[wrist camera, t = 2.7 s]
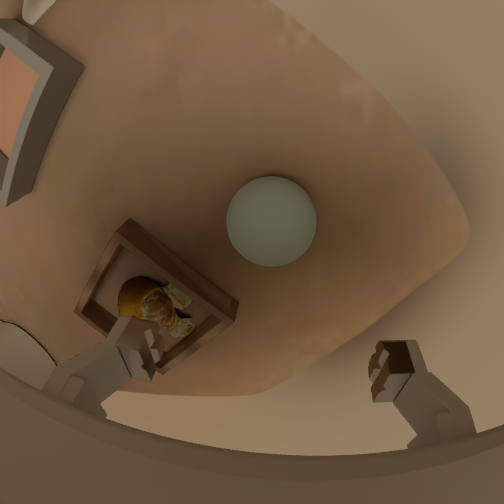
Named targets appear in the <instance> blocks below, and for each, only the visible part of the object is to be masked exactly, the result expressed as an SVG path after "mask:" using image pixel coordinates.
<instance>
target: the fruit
mask: <svg viewBox="0 0 504 504" xmlns="http://www.w3.org/2000/svg"><path fill="white" fill-rule="evenodd" d="M192 301H193V300H192V299H191V298H189V297H188V296H187V295H185V294H184V293H182V292H181V291H180V290H178V289H177V288H176V287H174V286H173V285H172V284H170V283H169V284H168V285H167V286H165V287H161V286H157V284H155V283H154V282H152V281H151V280H150V279H149V278H146V277H134V278H132V279H130V280H128V281H126V282H125V283H124V284H123V285H122V287H121V290H120V292H119V296H118V304H117V305H118V309H119V313H120V315H121V316H122V315H126V316H130V317H136V318H141V319H146V320H150V321H156V322H158V323H159V326H160V328H162V327H163V326H164V325H166V326H167V327H168V330H169V331H170V334H171V335H170V336H171V337H174V338H182V337H184V336H187V335H189V334H190V333H191V332H193V330H194V329H195V328H196V325H195V324H194V322H191V321H190V320H192V319H193V318H186V319H181V318H179V317H178V316H177V314H176V312H175V308H178V309H180V310H183V309H185V308H187V307H188V306H189V305H190V304H191V303H192ZM186 324H192V326H191V327H186Z"/></svg>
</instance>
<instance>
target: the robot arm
mask: <svg viewBox="0 0 504 504" xmlns="http://www.w3.org/2000/svg"><path fill="white" fill-rule="evenodd" d="M159 330H160V326H159V323H158V322H156V321H150V320H146V319H141V318H136V317H130V316H126V315H122V316H120V317H119V318H118V320H117V322H116V323H115V325H114V326H113V328H112V329H111V331H110V332H109V334H108V336H107V337H106V339H105V340H104V342H103V343H98V344H96V345H94V346H93V347H91V348H89V349H87V350H85V351H84V352H82V353H80V354H78V355H77V356H75V357H73V358H71V359H69V360H68V361H66V362H64V363H62V364H60V365H59V366H56V365H55V363H54V361H53V360H52V359H51V357H50V356H49V355H48V354H47V352H46V351H45V350H44V349H43V348H42V347H41V346H40V345H39V344H38V343H37V342H36V341H35V340H34V339H33V338H32V337H31V336H30V335H28V334H27V333H26V332H25V331H23V330H22V329H20V328H19V327H17V326H16V325H14V324H11V323H4V322H2V321H0V504H504V425H501V426H498V427H495V428H492V429H489V430H486V431H483V432H480V433H476V429H475V426H474V422H473V419H472V415H471V412H470V409H469V406H468V405H466V404H465V403H464V402H463V401H462V400H461V399H460V398H459V397H458V396H457V395H455V394H454V393H453V392H452V391H451V390H450V389H449V388H448V387H447V386H446V385H445V384H444V383H442V382H441V381H440V380H439V379H438V378H437V377H436V376H435V375H434V374H432V373H431V372H428V371H427V368H426V365H425V362H424V359H423V356H422V354H421V351H420V348H419V345H418V343H417V341H416V340H382V341H379V342H378V343H377V345H376V347H375V348H376V353H374V354H373V355H372V356H371V359H370V361H369V367H368V373H369V379H370V380H371V381H372V382H373V385H372V387H371V392H372V399H373V402H393V403H394V405H395V406H396V407H397V408H398V410H399V411H400V413H401V414H402V415H403V416H404V418H405V419H406V420H407V422H408V423H409V424H410V426H411V427H412V428H413V429H414V431H415V432H416V433H417V436H416V437H415V438H414V439H413V440H412V441H411V442H409V444H408V445H407V447H408V449H404V450H397V451H389V452H380V453H370V454H357V455H336V456H300V455H278V454H264V453H255V452H245V451H237V450H230V449H223V448H217V447H211V446H205V445H200V444H195V443H190V442H186V441H181V440H176V439H172V438H168V437H164V436H160V435H156V434H153V433H149V432H146V431H142V430H139V429H136V428H132V427H129V426H126V425H123V424H120V423H117V422H114V421H111V420H108V419H106V417H107V414H106V412H105V410H104V409H103V408H102V406H101V405H100V403H101V402H103V401H104V400H105V399H106V398H108V397H109V396H110V395H111V394H113V393H114V392H115V391H116V390H118V389H119V388H120V387H121V386H123V385H124V384H125V383H127V382H128V381H129V380H130V379H131V377H132V378H137V379H141V380H146V381H151V380H152V378H153V376H154V373H155V371H156V369H157V368H156V366H155V363H156V362H158V361H159V360H160V359H161V357H162V354H163V349H164V341H163V337H162V336H161V335H160V334H159Z"/></svg>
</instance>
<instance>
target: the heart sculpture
mask: <svg viewBox="0 0 504 504" xmlns="http://www.w3.org/2000/svg"><path fill="white" fill-rule="evenodd" d="M55 1H56V0H24V3H23V9H22V18H23V20H24V21H25V22H27V23H29V24H31V25H33V24H34V23H35V22H36V21H37V20H38V19H39V18H40V17H41V15H42V14H43V13H44V12H45V11H46V10H47V9H48V8H49V7H50V6H51V5H52V4H53V3H54V2H55Z"/></svg>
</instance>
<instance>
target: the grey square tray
mask: <svg viewBox="0 0 504 504" xmlns="http://www.w3.org/2000/svg"><path fill="white" fill-rule="evenodd" d="M84 68H85V67H84V66H83V65H81V64H80V63H79V62H77V61H76V60H74V59H73V58H71V57H70V56H69V55H67V54H66V53H64V52H63V51H62V50H60V49H59V48H57V47H56V46H54V45H53V44H51V43H50V42H48V41H47V40H46V39H44V38H43V37H41V36H40V35H38V34H37V33H35V32H34V31H32V30H31V29H29V28H28V27H26V26H24V25H23V24H21V23H20V22H18V21H17V20H15V19H0V201H1V202H2V203H3V204H4V205H5V206H6V207H7V206H8V205H10V204H12V203H13V202H15V201H16V200H18V199H20V198H21V197H23V196H25V195H26V194H28V193H30V192H31V190H32V187H33V184H34V181H35V177H36V174H37V171H38V168H39V165H40V163H41V160H42V157H43V154H44V152H45V149H46V146H47V144H48V141H49V139H50V136H51V134H52V132H53V129H54V127H55V125H56V122H57V120H58V118H59V116H60V114H61V111H62V109H63V107H64V105H65V103H66V101H67V99H68V97H69V95H70V93H71V91H72V89H73V87H74V86H75V84H76V82H77V80H78V78H79V76H80V75H81V73H82V71H83V69H84Z"/></svg>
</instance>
